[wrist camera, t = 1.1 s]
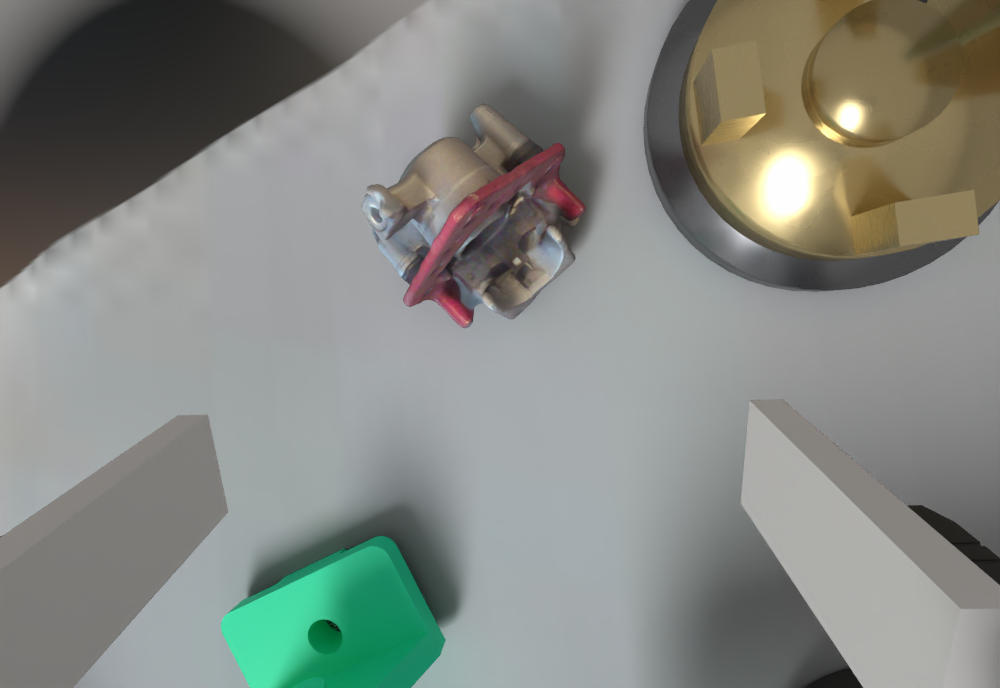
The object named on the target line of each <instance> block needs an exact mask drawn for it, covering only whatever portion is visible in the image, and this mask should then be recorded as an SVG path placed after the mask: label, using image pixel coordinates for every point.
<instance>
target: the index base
mask: <svg viewBox="0 0 1000 688" xmlns="http://www.w3.org/2000/svg"><path fill="white" fill-rule="evenodd" d="M716 2H717V0H690V1H689V2H688V3H687V4H686V6H685V7H684V9H683V11H682V12H681V14H680V15H679V17H678V18H677V20H676V22H675V23H674V25H673V26H672V29H671V31H670V33H669V35H668V37H667V39H666V41H665V43H664V46H663V48H662V50H661V53H660V55H659V58H658V61H657V63H656V66H655V69H654V72H653V75H652V78H651V82H650V85H649V89H648V94H647V99H646V104H645V113H644V129H643V131H644V145H645V154H646V159H647V164H648V169H649V173H650V176H651V179H652V182H653V185H654V188H655V191H656V193H657V195H658V197H659V199H660V201H661V203H662V205H663V207H664V209H665V211H666V213H667V214H668V216H669V217H670V219H671V220H672V221H673V223H674V224H675V226H676V227H677V229H678V230H679V231H680V232H681V233H682V234H683V235H684V237H685V238H686V239H687V240H688V241H689V242H690V243H691V244H692V245H693V246H694V247H695V248H696V249H698V250H699V251H700V252H701V253H702V254H704V255H705V256H706V257H707V258H708V259H710V260H711V261H713V262H714V263H716V264H718V265H719V266H721V267H722V268H724V269H726V270H727V271H729V272H731V273H733V274H736V275H738V276H740V277H742V278H745V279H747V280H749V281H752V282H756V283H759V284H762V285H766V286H769V287H774V288H780V289H786V290H792V291H815V292H816V291H829V290H842V289H853V288H860V287H865V286H870V285H875V284H880V283H883V282H886V281H889V280H892V279H895V278H898V277H901V276H904V275H907V274H909V273H911V272H913V271H915V270H917V269H919V268H921V267H923V266H925V265H927V264H930V263H931V262H933V261H934V260H936V259H937V258H939V257H940V256H942V255H944V254H945V253H947V252H948V251H950V250H951V249H953V248H954V247H955V246H956V245H957V244H959V243H960V242H961V241H962V240H963V239H965V238H966V237H961V238H956V239H950V240H945V241H939V242H934V243H929V244H926V245H923V246H920V247H917V248H914V249H910V250H905V251H901V252H896V253H891V254H886V255H880V256H874V257H868V258H863V259H857V260H846V261H813V260H807V259H801V258H795V257H791V256H788V255H784V254H781V253H777V252H774V251H772V250H770V249H767V248H765V247H763V246H761V245H758V244H756V243H755V242H753V241H751V240H750V239H748V238H746V237H745V236H743V235H742V234H740V233H738V232H737V231H736V230H735V229H734V228H732V227H731V226H730V225H729V224H727V223H726V222H725V221H724V220H723V219H722V218H721V217H720V216H719V215H718V214H717V213H716V212H715V211H714V209H713V208H712V207H711V206H710V205H709V203H708V202H707V201H706V199H705V198H704V196H703V195H702V193H701V192H700V191H699V189H698V187H697V185H696V183H695V181H694V179H693V177H692V175H691V173H690V171H689V168H688V165H687V162H686V159H685V156H684V153H683V148H682V143H681V138H680V131H679V117H678V113H679V97H680V90H681V85H682V80H683V75H684V72H685V69H686V66H687V63H688V60H689V57H690V54H691V52H692V50H693V48H694V46H695V44H696V42H697V40H698V37H699V35H700V33H701V31H702V29H703V27H704V25H705V23H706V21H707V19H708V17H709V15H710V13H711V11H712V9H713V7H714V5H715V4H716ZM998 202H999V201H998ZM998 202H997V203H998ZM997 203H996V204H997ZM996 204H994V205H993V206H992V207H991V208H989V209H988V210H987V211H986V212H985V213H983V214H982V215H981V216H980V217H978V218H977V219H978V225H979V224H980V223H981V222H982V221H983V220H984V219H985V218H986V217H987V216H988V215H989V214H990V212H991V211H992V210H993V208H994V207H995V206H996Z"/></svg>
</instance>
